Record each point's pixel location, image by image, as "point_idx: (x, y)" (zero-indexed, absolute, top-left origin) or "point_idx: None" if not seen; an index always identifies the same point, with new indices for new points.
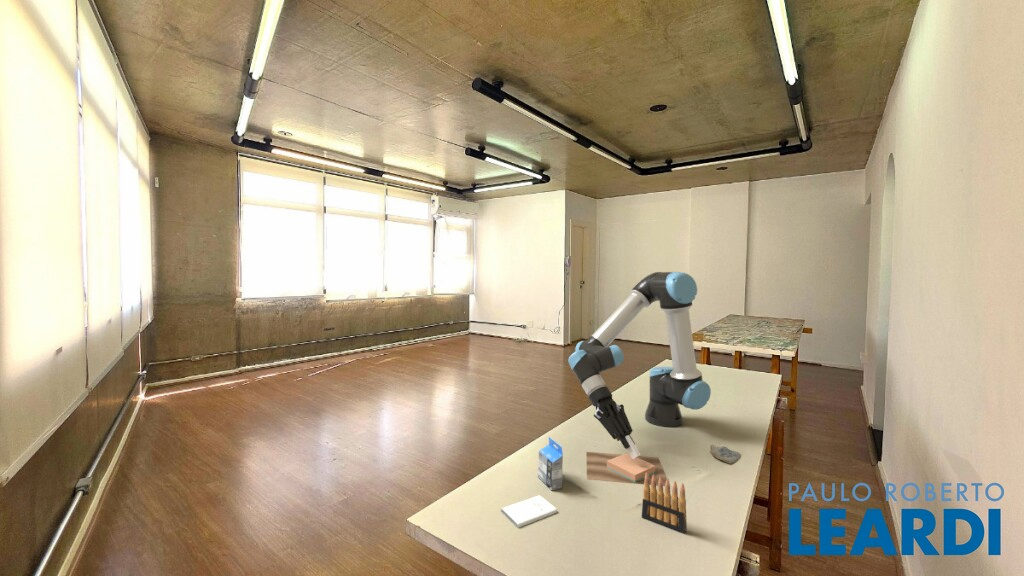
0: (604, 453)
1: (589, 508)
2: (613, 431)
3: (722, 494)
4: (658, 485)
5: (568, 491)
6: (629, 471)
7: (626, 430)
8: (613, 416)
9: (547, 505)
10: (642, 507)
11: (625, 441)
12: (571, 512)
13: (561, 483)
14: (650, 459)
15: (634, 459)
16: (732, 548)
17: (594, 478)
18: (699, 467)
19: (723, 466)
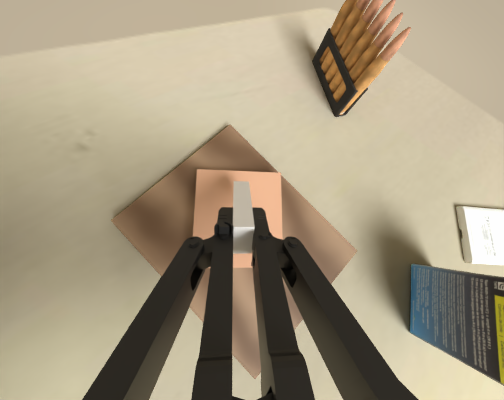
0: None
1: (402, 181)
2: (311, 264)
3: (161, 63)
4: (381, 27)
5: (405, 246)
6: (278, 191)
7: (226, 247)
8: (279, 354)
9: (473, 224)
10: (356, 101)
11: (262, 221)
12: (434, 192)
13: (422, 265)
14: (141, 225)
15: (210, 226)
16: (294, 12)
17: (340, 242)
18: (71, 137)
19: (17, 104)
